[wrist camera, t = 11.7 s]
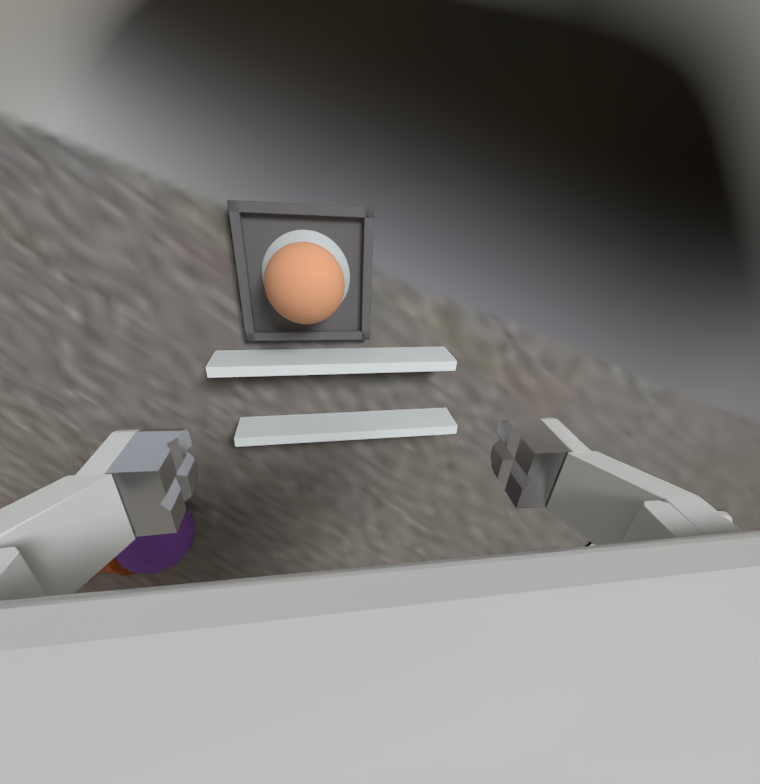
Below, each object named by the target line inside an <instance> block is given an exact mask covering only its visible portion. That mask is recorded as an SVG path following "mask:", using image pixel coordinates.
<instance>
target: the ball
mask: <svg viewBox="0 0 760 784" xmlns="http://www.w3.org/2000/svg"><path fill="white" fill-rule="evenodd" d="M264 286H265V292H266V295H267V297H268V300H269V302H270V303H271V305H272V306H273V308H274V309H275V310H276V311H277V312H278V313H279V314H280V315H282V316H283V317H284V318H286V319H288V320H290V321H292V322H295V323H300V324H314V323H318V322H321V321H323V320H325V319H327V318H328V317H330V316H331V315H332V314H333V313H334V312H335V311H336V310H337V308H338V307H339V306H340V303H341V301H342V299H343V295H344V290H345V280H344V275H343V272H342V269H341V267H340V265H339V263H338V261H337V260H336V259H335V257H334V256H333V255H332V254H331V253H330V252H329V251H328V250H326V249H325V248H323V247H321V246H320V245H317V244H314V243H310V242H294V243H290V244H287V245H285V246H283V247H282V248H280V249H279V250H277V251H276V252H275V253H274V254H273V256H272V257H271V258H270V260H269V262H268V264H267V266H266V269H265V274H264Z"/></svg>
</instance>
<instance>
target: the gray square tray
mask: <svg viewBox="0 0 760 784" xmlns="http://www.w3.org/2000/svg"><path fill="white" fill-rule="evenodd" d="M227 202H228V209H229V216H230V224H231V231H232V238H233V246H234V253H235V260H236V268H237V275H238V282H239V290H240V297H241V304H242V312H243V319H244V326H245V334H246V341H284V340H360V339H370V311H371V283H372V254H373V227H374V208H373V207H358V206H339V205H317V204H298V203H275V202H257V201H235V200H229V201H227ZM294 242H310V243H314V244H317V245H320V246H321V247H323V248H325V249H326V250H328V251H329V252H330V253H331V254H332V255H333V256H334V257H335V259H336V260H337V261H338V263H339V265H340V267H341V269H342V272H343V275H344V280H345V290H344V295H343V299H342V301H341V303H340V306H339V307H338V308H337V310H336V311H335V312H334V313H333V314H332V315H331V316H330V317H328V318H327V319H325V320H323V321H321V322H318V323H314V324H300V323H295V322H292V321H290V320H288V319H286V318H284V317H283V316H282V315H280V314H279V313H278V312H277V311H276V310H275V309H274V308H273V306H272V305H271V303H270V302H269V300H268V297H267V295H266V292H265V286H264V274H265V269H266V266H267V264H268V262H269V260H270V258H271V257H272V256H273V254H274V253H275V252H276V251H277V250H279V249H280V248H282V247H283V246H285V245H287V244H290V243H294Z"/></svg>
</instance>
